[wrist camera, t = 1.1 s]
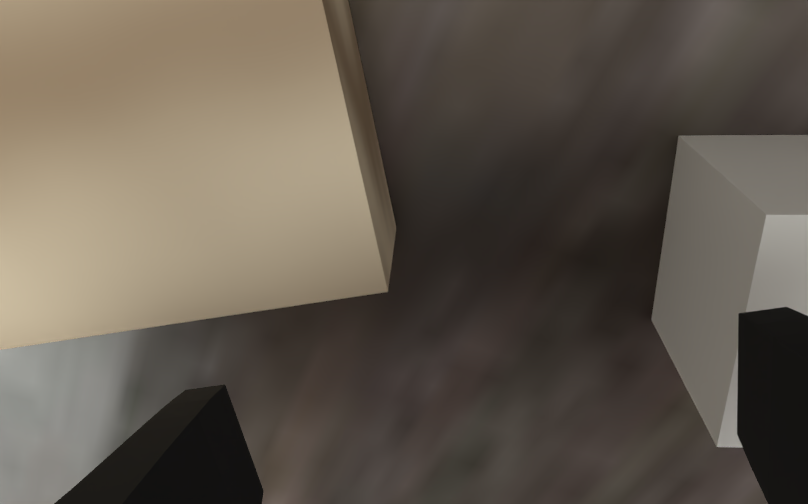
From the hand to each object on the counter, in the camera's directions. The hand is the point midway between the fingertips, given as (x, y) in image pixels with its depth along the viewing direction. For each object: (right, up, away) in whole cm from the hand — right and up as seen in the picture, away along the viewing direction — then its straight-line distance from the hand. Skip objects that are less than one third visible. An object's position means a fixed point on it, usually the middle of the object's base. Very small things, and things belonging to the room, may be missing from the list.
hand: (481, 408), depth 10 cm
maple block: (-7, +6, +4) cm, 10 cm away
